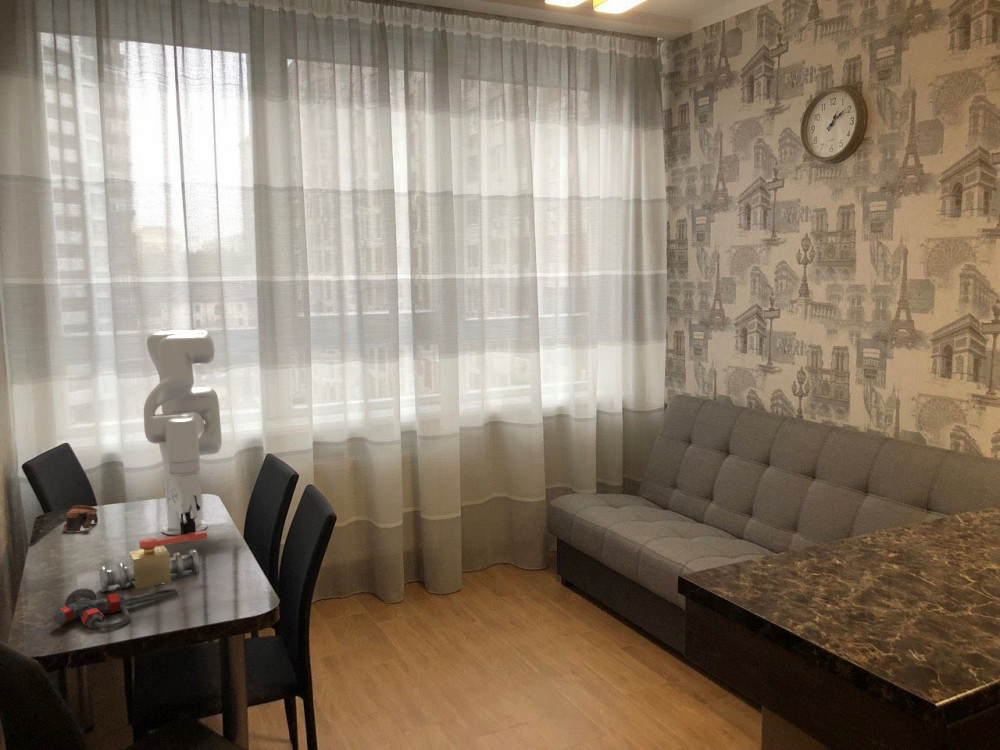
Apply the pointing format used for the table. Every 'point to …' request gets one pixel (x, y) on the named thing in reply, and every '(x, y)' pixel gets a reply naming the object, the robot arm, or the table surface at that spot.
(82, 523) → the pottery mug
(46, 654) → the table surface
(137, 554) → the ball valve
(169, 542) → the lever
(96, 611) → the valve
